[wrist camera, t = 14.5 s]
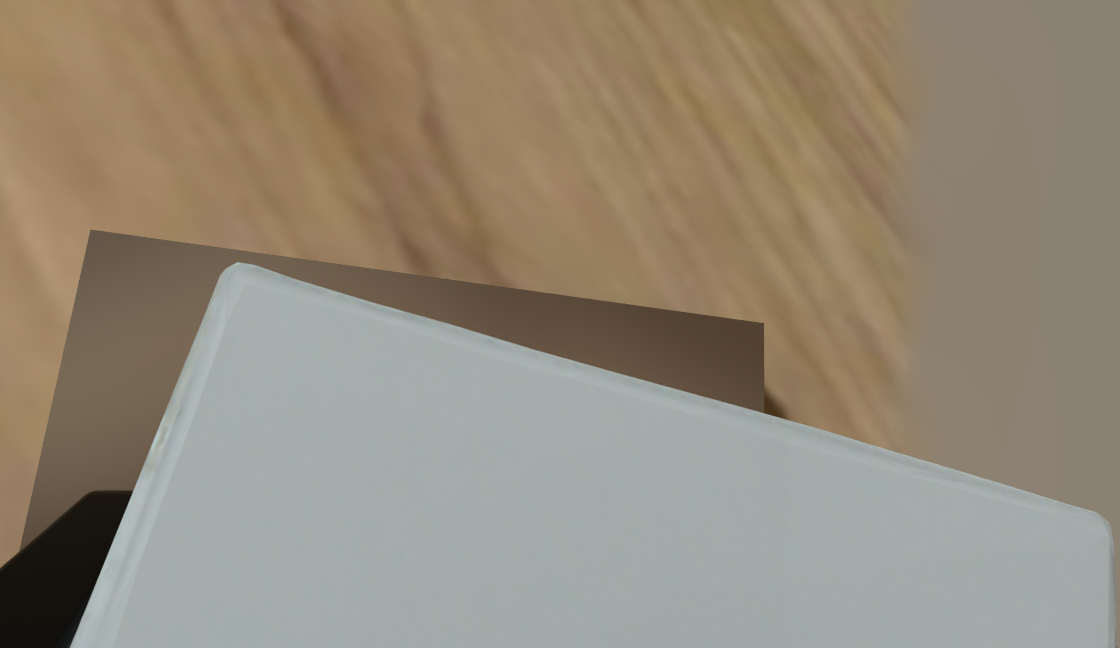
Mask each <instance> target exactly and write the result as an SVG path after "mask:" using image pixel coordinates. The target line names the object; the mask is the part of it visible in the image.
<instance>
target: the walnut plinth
mask: <svg viewBox="0 0 1120 648" xmlns="http://www.w3.org/2000/svg"><path fill="white" fill-rule="evenodd" d="M237 262H239V263H245V264H251V265H256V266H259V267H262V268H265V269H268V270H271V271H274V272H276V273H279V274H282V275H285V276H288V277H291V278H294V279H297V280H300V281H303V282H307V283H310V284H313V285H317V286H320V287H323V288H327V289H330V290H333V291H336V292H340V293H343V294H346V295H350V296H353V297H356V298H360V299H363V300H366V301H370V302H373V303H376V304H380V305H383V306H387V307H391V308H394V309H398V310H401V311H405V312H408V313H412V314H416V315H419V316H423V317H426V318H430V319H434V320H437V321H441V322H444V323H448V324H451V325H455V326H458V327H461V328H465V329H468V330H471V331H475V332H478V333H481V334H484V335H488V336H491V337H494V338H498V339H501V340H504V341H508V342H511V343H514V344H517V345H521V346H524V347H527V348H531V349H534V350H537V351H541V352H544V353H548V354H552V355H555V356H559V357H562V358H566V359H569V360H573V361H576V362H580V363H583V364H587V365H591V366H594V367H598V368H601V369H605V370H608V371H612V372H615V373H619V374H623V375H626V376H630V377H634V378H637V379H641V380H645V381H648V382H652V383H655V384H659V385H663V386H666V387H670V388H674V389H677V390H681V391H685V392H688V393H692V394H696V395H699V396H703V397H707V398H710V399H714V400H718V401H721V402H725V403H729V404H732V405H736V406H740V407H743V408H747V409H750V410H754V411H757V412H761V413H764V323H758V322H751V321H744V320H736V319H729V318H722V317H715V316H708V315H700V314H693V313H686V312H679V311H672V310H664V309H657V308H650V307H643V306H636V305H629V304H621V303H614V302H607V301H600V300H593V299H585V298H578V297H571V296H564V295H557V294H549V293H542V292H535V291H528V290H521V289H513V288H506V287H499V286H492V285H485V284H477V283H470V282H463V281H456V280H449V279H441V278H434V277H427V276H420V275H413V274H405V273H398V272H391V271H384V270H377V269H370V268H362V267H355V266H348V265H341V264H334V263H326V262H319V261H312V260H305V259H298V258H290V257H283V256H276V255H269V254H262V253H254V252H247V251H240V250H233V249H226V248H218V247H211V246H204V245H197V244H190V243H182V242H175V241H168V240H161V239H154V238H146V237H139V236H132V235H125V234H118V233H111V232H103V231H96V230H90V235H89V239H88V244H87V248H86V253H85V257H84V262H83V266H82V271H81V276H80V280H79V285H78V289H77V294H76V298H75V303H74V307H73V312H72V316H71V321H70V325H69V330H68V334H67V339H66V343H65V348H64V352H63V357H62V361H61V366H60V370H59V375H58V379H57V384H56V388H55V393H54V397H53V402H52V406H51V411H50V415H49V420H48V424H47V429H46V433H45V438H44V442H43V447H42V452H41V456H40V461H39V465H38V470H37V474H36V479H35V483H34V488H33V492H32V497H31V501H30V506H29V510H28V515H27V519H26V524H25V528H24V533H23V537H22V542H21V546H20V551H21V550H22V549H23V548H24V547H25V546H26V545H28V544H29V543H30V542H31V541H32V540H33V539H34V538H36V537H37V536H38V535H39V534H40V533H41V532H43V531H44V530H45V529H46V528H47V527H48V526H49V525H51V524H52V523H53V522H54V521H55V520H56V519H58V518H59V517H60V516H61V515H62V514H63V513H64V512H66V511H67V510H68V509H69V508H70V507H71V506H73V505H74V504H75V503H76V502H77V501H78V500H79V499H81V498H82V497H83V496H84V495H86V494H87V493H89V492H91V491H96V490H134V488H135V486H136V483H137V481H138V478H139V476H140V473H141V471H142V468H143V466H144V463H145V461H146V458H147V456H148V453H149V451H150V448H151V446H152V443H153V441H154V438H155V436H156V433H157V431H158V428H159V426H160V423H161V421H162V418H163V416H164V413H165V411H166V408H167V406H168V403H169V401H170V399H171V396H172V394H173V391H174V389H175V386H176V384H177V381H178V379H179V377H180V374H181V372H182V369H183V367H184V364H185V362H186V359H187V357H188V354H189V352H190V350H191V347H192V345H193V342H194V340H195V337H196V335H197V332H198V330H199V328H200V325H201V323H202V320H203V318H204V315H205V313H206V310H207V308H208V305H209V303H210V300H211V297H212V295H213V292H214V290H215V287H216V285H217V282H218V280H219V277H220V275H221V274H222V273H223V271H224V270H225V269H226V268H228V267H230V266H231V265H233V264H235V263H237Z"/></svg>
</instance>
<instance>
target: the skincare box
mask: <svg viewBox="0 0 1120 648" xmlns="http://www.w3.org/2000/svg"><path fill="white" fill-rule="evenodd" d="M1115 599H1116V598H1115V561H1114V542H1113V536H1112V531H1111V526H1110V523H1108V522H1107V521H1106V520H1105V519H1104V518H1103V517H1101V516H1100V515H1099V514H1098V513H1097V512H1093V511H1089V510H1086V509H1083V508H1079V507H1075V506H1072V505H1068V504H1065V503H1062V502H1059V501H1055V500H1052V499H1049V498H1046V497H1043V496H1039V495H1036V494H1033V493H1030V492H1026V491H1023V490H1020V489H1017V488H1013V487H1010V486H1007V485H1004V484H1000V483H997V482H994V481H991V480H987V479H984V478H980V477H977V476H974V475H971V474H967V473H963V472H961V471H957V470H954V469H951V468H947V467H944V466H941V465H937V464H934V463H930V462H927V461H924V460H920V459H917V458H914V457H910V456H907V455H904V454H900V453H897V452H894V451H891V450H887V449H884V448H881V447H877V446H874V445H871V444H868V443H864V442H861V441H858V440H854V439H851V438H848V437H844V436H841V435H838V434H835V433H831V432H828V431H825V430H821V429H818V428H814V427H811V426H807V425H804V424H800V423H797V422H793V421H789V420H786V419H782V418H779V417H775V416H772V415H768V414H765V413H761V412H757V411H754V410H750V409H747V408H743V407H740V406H736V405H732V404H729V403H725V402H721V401H718V400H714V399H710V398H707V397H703V396H699V395H696V394H692V393H688V392H685V391H681V390H677V389H674V388H670V387H666V386H663V385H659V384H655V383H652V382H648V381H645V380H641V379H637V378H634V377H630V376H626V375H623V374H619V373H615V372H612V371H608V370H605V369H601V368H598V367H594V366H591V365H587V364H583V363H580V362H576V361H573V360H569V359H566V358H562V357H559V356H555V355H552V354H548V353H544V352H541V351H537V350H534V349H531V348H527V347H524V346H521V345H517V344H514V343H511V342H508V341H504V340H501V339H498V338H494V337H491V336H488V335H484V334H481V333H478V332H475V331H471V330H468V329H465V328H461V327H458V326H455V325H451V324H448V323H444V322H441V321H437V320H434V319H430V318H426V317H423V316H419V315H416V314H412V313H408V312H405V311H401V310H398V309H394V308H391V307H387V306H383V305H380V304H376V303H373V302H370V301H366V300H363V299H360V298H356V297H353V296H350V295H346V294H343V293H340V292H336V291H333V290H330V289H327V288H323V287H320V286H317V285H313V284H310V283H307V282H303V281H300V280H297V279H294V278H291V277H288V276H285V275H282V274H279V273H276V272H274V271H271V270H268V269H265V268H262V267H259V266H256V265H251V264H245V263H239V262H237V263H235V264H233V265H231V266H230V267H228V268H226V269H225V270H224V271H223V273H222V274H221V275H220V277H219V280H218V282H217V285H216V287H215V290H214V292H213V295H212V297H211V300H210V303H209V305H208V308H207V310H206V313H205V315H204V318H203V320H202V323H201V325H200V328H199V330H198V332H197V335H196V337H195V340H194V342H193V345H192V347H191V350H190V352H189V354H188V357H187V359H186V362H185V364H184V367H183V369H182V372H181V374H180V377H179V379H178V381H177V384H176V386H175V389H174V391H173V394H172V396H171V399H170V401H169V403H168V406H167V408H166V411H165V413H164V416H163V418H162V421H161V423H160V426H159V428H158V431H157V433H156V436H155V438H154V441H153V443H152V446H151V448H150V451H149V453H148V456H147V458H146V461H145V463H144V466H143V468H142V471H141V473H140V476H139V478H138V481H137V483H136V486H135V488H134V491H133V493H132V496H131V498H130V501H129V503H128V506H127V508H126V511H125V513H124V516H123V518H122V521H121V523H120V526H119V528H118V531H117V533H116V536H115V538H114V540H113V543H112V545H111V548H110V550H109V553H108V555H107V558H106V560H105V563H104V565H103V568H102V570H101V572H100V575H99V577H98V580H97V582H96V585H95V587H94V590H93V592H92V595H91V597H90V600H89V602H88V604H87V607H86V609H85V612H84V614H83V617H82V619H81V622H80V624H79V627H78V629H77V632H76V634H75V636H74V639H73V641H72V644H71V646H70V648H1116V600H1115Z"/></svg>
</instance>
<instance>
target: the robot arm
mask: <svg viewBox="0 0 1120 648" xmlns="http://www.w3.org/2000/svg"><path fill="white" fill-rule="evenodd" d="M133 491H134V490H96V491H91V492H89V493H87V494H86V495H84V496H83V497H82V498H81V499H79V500H78V501H77V502H76V503H75V504H74V505H73V506H71V507H70V508H69V509H68V510H67V511H66V512H64V513H63V514H62V515H61V516H60V517H59V518H58V519H56V520H55V521H54V522H53V523H52V524H51V525H49V526H48V527H47V528H46V529H45V530H44V531H43V532H41V533H40V534H39V535H38V536H37V537H36V538H34V539H33V540H32V541H31V542H30V543H29V544H28V545H26V546H25V547H24V548H23V549H22V550H21V551H19V552H18V553H17V554H16V555H15V556H14V557H13V558H11V559H10V560H9V561H8V562H7V563H6V564H4V565H3V566H2V567H1V568H0V648H70V646H71V644H72V641H73V639H74V636H75V634H76V632H77V629H78V627H79V624H80V622H81V619H82V617H83V614H84V612H85V609H86V607H87V604H88V602H89V600H90V597H91V595H92V592H93V590H94V587H95V585H96V582H97V580H98V577H99V575H100V572H101V570H102V568H103V565H104V563H105V560H106V558H107V555H108V553H109V550H110V548H111V545H112V543H113V540H114V538H115V536H116V533H117V531H118V528H119V526H120V523H121V521H122V518H123V516H124V513H125V511H126V508H127V506H128V503H129V501H130V498H131V496H132V493H133ZM1116 648H1117V647H1116Z"/></svg>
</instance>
